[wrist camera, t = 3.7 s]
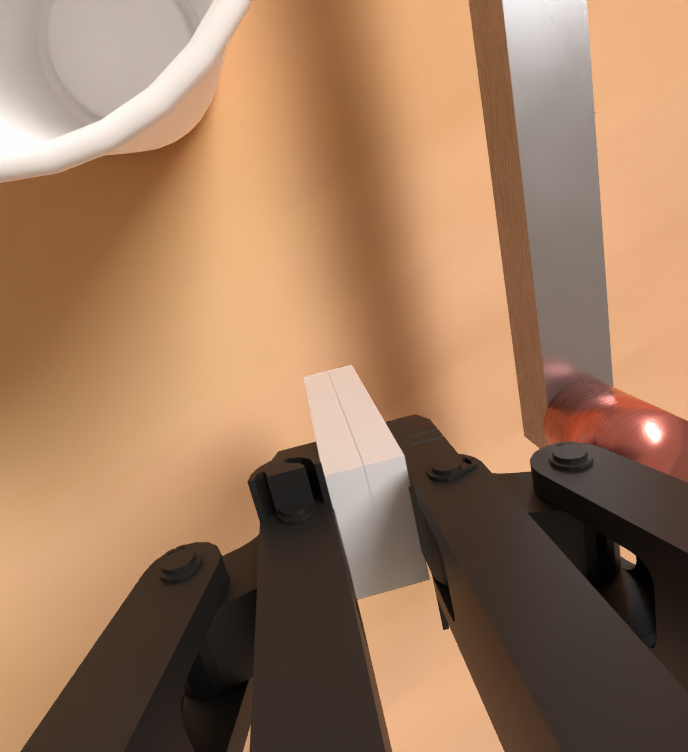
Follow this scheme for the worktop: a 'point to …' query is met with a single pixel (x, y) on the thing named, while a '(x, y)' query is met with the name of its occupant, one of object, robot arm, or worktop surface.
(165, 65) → the cup
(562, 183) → the lever
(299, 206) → the worktop surface
